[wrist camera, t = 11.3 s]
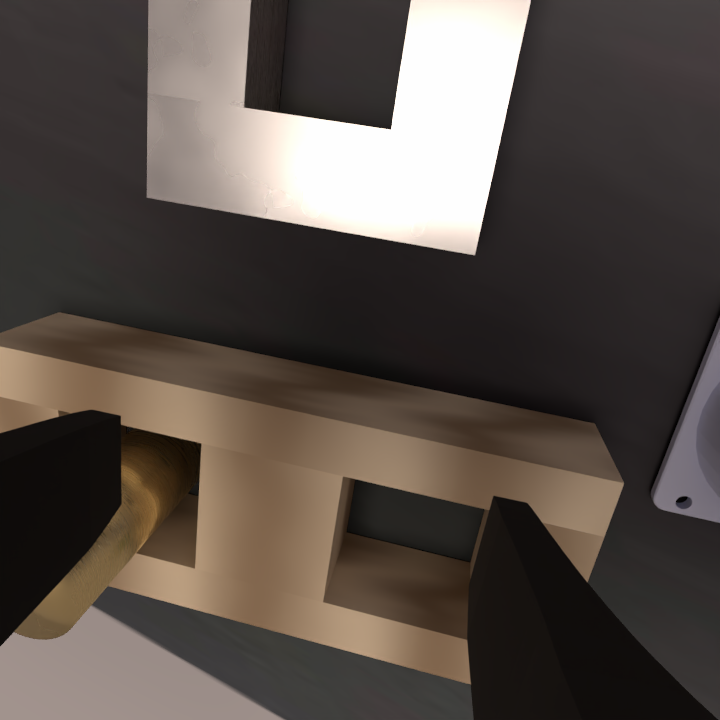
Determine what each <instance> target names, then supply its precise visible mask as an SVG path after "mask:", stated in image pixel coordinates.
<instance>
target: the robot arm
mask: <svg viewBox="0 0 720 720" xmlns="http://www.w3.org/2000/svg"><path fill="white" fill-rule="evenodd" d="M682 496H687V497H688V498H687V500H686V501H684V502H682V503H677V502H676V500H677V499H678V498H679V497H682ZM651 498H652V500H653V502H654V504H655V505H656V506H657V507H658V508H659V509H662V510H664V511H669V512H673V513H678V514H682V515H687V516H691V517H696V518H700V519H705V520H709V521H713V522H718V523H720V317H719V319H718V322H717V324H716V327H715V330H714V332H713V335H712V337H711V340H710V342H709V345H708V347H707V350H706V353H705V355H704V358H703V360H702V363H701V365H700V368H699V370H698V373H697V375H696V378H695V381H694V383H693V386H692V388H691V391H690V393H689V396H688V398H687V401H686V403H685V406H684V409H683V411H682V414H681V416H680V419H679V421H678V424H677V426H676V429H675V431H674V434H673V437H672V439H671V442H670V444H669V447H668V449H667V452H666V454H665V457H664V459H663V462H662V465H661V467H660V470H659V472H658V475H657V477H656V480H655V482H654V485H653V487H652V490H651ZM121 504H122V489H121V416H120V415H116V414H111V413H106V412H102V411H97V410H92V409H91V410H86V411H80V412H75V413H71V414H67V415H63V416H59V417H55V418H52V419H48V420H44V421H41V422H37V423H34V424H30V425H27V426H23V427H20V428H16V429H13V430H9V431H6V432H2V433H0V646H1V645H2V644H3V643H4V642H5V641H6V640H7V639H8V638H9V636H10V635H11V634H12V633H13V632H14V631H15V630H16V629H17V628H18V627H19V626H20V625H21V624H22V622H23V621H24V620H25V619H26V618H27V617H28V616H29V615H30V614H31V613H32V612H33V611H34V610H35V608H36V607H37V606H38V605H39V604H40V603H41V602H42V601H43V600H44V599H45V598H46V597H47V596H48V595H49V593H50V592H51V591H52V590H53V589H54V588H55V587H56V586H57V585H58V584H59V583H60V582H61V581H62V579H63V578H64V577H65V576H66V575H67V574H68V573H69V572H70V571H71V570H72V568H73V567H74V566H75V565H76V564H77V563H78V562H79V561H80V560H81V559H82V557H83V556H84V555H85V554H86V553H87V552H88V551H89V550H90V548H91V547H92V546H93V545H94V543H95V542H96V540H97V539H98V538H99V536H100V535H101V534H102V532H103V531H104V530H105V528H106V527H107V525H108V524H109V522H110V521H111V519H112V518H113V516H114V515H115V513H116V512H117V510H118V509H119V507H120V506H121ZM467 643H468V656H469V668H470V681H471V692H472V704H473V715H474V720H718V719H717V718H716V717H714V716H713V715H712V714H711V713H710V712H709V711H708V710H707V709H706V708H705V707H704V706H703V705H702V704H700V703H699V702H698V701H697V700H696V699H695V698H694V697H693V696H692V695H691V694H690V693H689V692H688V691H687V690H686V689H685V688H684V687H683V686H682V685H681V684H680V683H679V682H678V681H677V680H676V679H675V678H674V677H673V676H672V675H671V674H670V673H669V672H668V671H667V670H666V669H665V668H664V667H663V666H662V665H661V664H660V663H659V662H658V661H657V660H656V659H655V658H654V657H653V656H652V655H651V654H650V653H649V652H648V651H647V650H646V649H645V648H644V647H643V646H642V645H641V644H640V643H639V642H638V641H637V640H636V638H635V637H634V636H633V635H632V634H631V633H630V632H629V631H628V630H627V628H626V627H625V626H624V625H623V624H622V623H621V622H620V620H619V619H618V618H617V617H616V616H615V615H614V614H613V612H612V611H611V610H610V609H609V608H608V607H607V606H606V604H605V603H604V602H603V601H602V600H601V598H600V597H599V596H598V595H597V594H596V592H595V591H594V590H593V589H592V588H591V586H590V585H589V584H588V583H587V581H586V580H585V579H584V578H583V576H582V575H581V574H580V572H579V571H578V570H577V569H576V567H575V566H574V565H573V563H572V562H571V561H570V559H569V558H568V557H567V555H566V554H565V553H564V552H563V550H562V549H561V547H560V546H559V545H558V543H557V542H556V541H555V539H554V538H553V537H552V535H551V534H550V533H549V531H548V530H547V528H546V527H545V526H544V524H543V523H542V522H541V520H540V519H539V517H538V516H537V515H536V513H535V512H534V511H533V509H532V508H531V507H530V505H529V504H528V503H526V502H521V501H517V500H512V499H507V498H503V497H498V496H493V499H492V502H491V506H490V510H489V513H488V517H487V521H486V524H485V528H484V531H483V535H482V539H481V542H480V546H479V550H478V553H477V557H476V561H475V564H474V568H473V572H472V575H471V579H470V583H469V595H468V623H467Z"/></svg>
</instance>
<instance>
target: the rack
mask: <svg viewBox="0 0 720 720" xmlns="http://www.w3.org/2000/svg"><path fill="white" fill-rule="evenodd" d="M91 409H92V410H97V411H102V412H106V413H111V414H116V415H120V416H121V438H123V437H124V436H125V435H126V426H128V427H133V428H137V429H141V430H146V431H150V432H154V433H159V434H163V435H167V436H172V437H176V438H180V439H184V440H189V441H193V442H197V443H201V462H200V482H199V496H196V495H192V494H188V493H187V494H186V496H185V497H184V498H183V499H182V500H181V501H180V503H179V504H178V505H177V506H176V507H175V508H174V510H173V511H172V512H171V513H170V514H169V515H168V517H167V518H166V519H165V520H164V521H163V522H162V524H161V525H160V526H159V527H158V528H157V529H156V530H155V532H154V533H153V534H152V535H151V536H150V537H149V539H148V540H147V541H146V542H145V543H144V544H143V546H142V547H141V548H140V549H139V550H138V551H137V553H136V554H135V555H134V556H133V557H132V558H131V559H130V561H129V562H128V563H127V564H126V565H125V566H124V568H123V569H122V570H121V571H120V572H119V573H118V575H117V576H116V577H115V578H114V579H113V580H112V582H111V583H110V584H109V585H108V586H110V587H114V588H118V589H121V590H125V591H129V592H132V593H136V594H140V595H143V596H147V597H151V598H154V599H158V600H162V601H166V602H169V603H173V604H177V605H180V606H184V607H188V608H191V609H195V610H199V611H202V612H206V613H210V614H213V615H217V616H221V617H224V618H228V619H232V620H235V621H239V622H243V623H246V624H250V625H254V626H258V627H261V628H265V629H269V630H272V631H276V632H280V633H283V634H287V635H291V636H294V637H298V638H302V639H305V640H309V641H313V642H316V643H320V644H324V645H327V646H331V647H335V648H338V649H342V650H346V651H349V652H353V653H357V654H361V655H364V656H368V657H372V658H375V659H379V660H383V661H386V662H390V663H394V664H397V665H401V666H405V667H408V668H412V669H416V670H419V671H423V672H427V673H430V674H434V675H438V676H441V677H445V678H449V679H453V680H456V681H460V682H464V683H467V684H471V681H470V668H469V656H468V643H467V623H468V595H469V583H470V579H471V575H472V572H473V568H474V564H475V561H476V557H477V553H478V550H479V546H480V542H481V539H482V535H483V531H484V528H485V524H486V521H487V517H488V513H489V510H490V506H491V502H492V499H493V496H498V497H503V498H507V499H512V500H517V501H521V502H526V503H528V504H529V505H530V507H531V508H532V509H533V511H534V512H535V513H536V515H537V516H538V517H539V519H540V520H541V522H542V523H543V524H544V526H545V527H546V528H547V530H548V531H549V533H550V534H551V535H552V537H553V538H554V539H555V541H556V542H557V543H558V545H559V546H560V547H561V549H562V550H563V552H564V553H565V554H566V555H567V557H568V558H569V559H570V561H571V562H572V563H573V565H574V566H575V567H576V569H577V570H578V571H579V572H580V574H581V575H582V576H583V578H584V579H585V580H586V581H587V582H588V580H589V577H590V574H591V572H592V569H593V566H594V563H595V561H596V558H597V555H598V553H599V550H600V547H601V545H602V542H603V539H604V536H605V534H606V531H607V528H608V526H609V523H610V520H611V518H612V515H613V512H614V509H615V507H616V504H617V501H618V499H619V496H620V493H621V491H622V488H623V485H624V482H623V480H622V478H621V476H620V474H619V472H618V470H617V468H616V466H615V464H614V462H613V460H612V458H611V456H610V454H609V452H608V449H607V447H606V445H605V443H604V441H603V439H602V437H601V435H600V433H599V431H598V429H597V427H596V425H595V423H590V422H585V421H580V420H575V419H571V418H566V417H561V416H556V415H551V414H547V413H542V412H537V411H532V410H527V409H523V408H518V407H513V406H508V405H503V404H498V403H494V402H489V401H484V400H479V399H474V398H470V397H465V396H460V395H455V394H450V393H446V392H441V391H436V390H431V389H426V388H422V387H417V386H412V385H407V384H402V383H397V382H393V381H388V380H383V379H378V378H373V377H369V376H364V375H359V374H354V373H349V372H345V371H340V370H335V369H330V368H325V367H321V366H316V365H311V364H306V363H301V362H296V361H292V360H287V359H282V358H277V357H272V356H268V355H263V354H258V353H253V352H248V351H244V350H239V349H234V348H229V347H224V346H220V345H215V344H210V343H205V342H200V341H195V340H191V339H186V338H181V337H176V336H171V335H167V334H162V333H157V332H152V331H147V330H143V329H138V328H133V327H128V326H123V325H119V324H114V323H109V322H104V321H99V320H94V319H90V318H85V317H80V316H75V315H70V314H66V313H61V312H59V313H56V314H53V315H50V316H47V317H44V318H42V319H39V320H36V321H33V322H30V323H27V324H25V325H22V326H19V327H16V328H13V329H10V330H8V331H5V332H2V333H0V433H2V432H6V431H9V430H13V429H16V428H20V427H23V426H27V425H30V424H34V423H37V422H41V421H44V420H48V419H52V418H55V417H59V416H63V415H67V414H71V413H75V412H80V411H86V410H91ZM355 479H357V480H361V481H365V482H370V483H374V484H378V485H383V486H387V487H391V488H396V489H400V490H404V491H409V492H413V493H417V494H422V495H426V496H430V497H434V498H439V499H443V500H447V501H452V502H456V503H460V504H465V505H469V506H473V507H478V508H482V509H485V510H484V514H483V518H482V521H481V525H480V529H479V532H478V536H477V540H476V543H475V547H474V551H473V555H472V558H471V562H466V561H462V560H457V559H453V558H449V557H445V556H441V555H437V554H433V553H429V552H425V551H421V550H417V549H412V548H408V547H404V546H400V545H396V544H392V543H388V542H384V541H380V540H376V539H372V538H368V537H363V536H359V535H355V534H351V533H347V526H348V520H349V514H350V508H351V502H352V496H353V490H354V484H355Z"/></svg>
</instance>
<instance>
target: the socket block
mask: <svg viewBox="0 0 720 720" xmlns="http://www.w3.org/2000/svg"><path fill="white" fill-rule="evenodd" d="M530 2H531V0H411V4H410V10H409V17H408V23H407V30H406V36H405V43H404V49H403V56H402V62H401V69H400V75H399V82H398V88H397V95H396V101H395V108H394V114H393V121H392V127H391V130H389V129H382V128H376V127H369V126H362V125H356V124H349V123H343V122H336V121H329V120H323V119H316V118H309V117H303V116H296V115H290V114H283V113H279V103H280V91H281V80H282V68H283V56H284V45H285V33H286V22H287V10H288V0H149V14H148V125H147V198H153V199H158V200H164V201H170V202H175V203H181V204H187V205H192V206H198V207H204V208H209V209H215V210H221V211H226V212H232V213H238V214H243V215H249V216H255V217H261V218H266V219H272V220H278V221H283V222H289V223H295V224H300V225H306V226H312V227H317V228H323V229H329V230H334V231H340V232H346V233H351V234H357V235H363V236H368V237H374V238H380V239H386V240H391V241H397V242H403V243H408V244H414V245H420V246H425V247H431V248H437V249H442V250H448V251H454V252H459V253H465V254H471V255H475V252H476V248H477V243H478V239H479V234H480V230H481V225H482V221H483V216H484V212H485V207H486V202H487V198H488V193H489V189H490V184H491V180H492V175H493V171H494V166H495V162H496V157H497V152H498V148H499V143H500V139H501V134H502V130H503V125H504V121H505V116H506V112H507V107H508V102H509V98H510V93H511V89H512V84H513V80H514V75H515V71H516V66H517V62H518V57H519V52H520V48H521V43H522V39H523V34H524V30H525V25H526V21H527V16H528V12H529V7H530Z"/></svg>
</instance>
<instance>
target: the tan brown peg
mask: <svg viewBox="0 0 720 720" xmlns="http://www.w3.org/2000/svg"><path fill="white" fill-rule="evenodd" d="M200 462H201V443H197V442H193V441H189V440H184V439H180V438H176V437H172V436H167V435H163V434H159V433H154V432H150V431H146V430H141V429H137V428H134V429H133V430H132V431H130V432H129V433H128V434H126V435H125V436H124V437H123V438H121V489H122V504H121V506H120V507H119V509H118V510H117V512H116V513H115V515H114V516H113V518H112V519H111V521H110V522H109V524H108V525H107V527H106V528H105V530H104V531H103V532H102V534H101V535H100V536H99V538H98V539H97V540H96V542H95V543H94V545H93V546H92V547H91V548H90V550H89V551H88V552H87V553H86V554H85V555H84V556H83V557H82V559H81V560H80V561H79V562H78V563H77V564H76V565H75V566H74V567H73V568H72V570H71V571H70V572H69V573H68V574H67V575H66V576H65V577H64V578H63V579H62V581H61V582H60V583H59V584H58V585H57V586H56V587H55V588H54V589H53V590H52V591H51V592H50V593H49V595H48V596H47V597H46V598H45V599H44V600H43V601H42V602H41V603H40V604H39V605H38V606H37V607H36V608H35V610H34V611H33V612H32V613H31V614H30V615H29V616H28V617H27V618H26V619H25V620H24V621H23V622H22V624H21V625H20V626H19V627H18V628H17V629H16V630H15V631H14V632H15V633H17V634H19V635H22V636H25V637H29V638H33V639H53V638H57V637H60V636H62V635H64V634H65V633H67V632H68V631H69V630H70V629H71V628H72V627H73V626H74V624H75V623H76V622H77V621H78V620H79V619H80V617H81V616H82V615H83V614H84V613H85V612H86V611H87V609H88V608H89V607H90V606H91V605H92V604H93V602H94V601H95V600H96V599H97V598H98V597H99V595H100V594H101V593H102V592H103V591H104V590H105V589H106V587H107V586H108V585H109V584H110V583H111V582H112V580H113V579H114V578H115V577H116V576H117V575H118V573H119V572H120V571H121V570H122V569H123V568H124V566H125V565H126V564H127V563H128V562H129V561H130V559H131V558H132V557H133V556H134V555H135V554H136V553H137V551H138V550H139V549H140V548H141V547H142V546H143V544H144V543H145V542H146V541H147V540H148V539H149V537H150V536H151V535H152V534H153V533H154V532H155V530H156V529H157V528H158V527H159V526H160V525H161V524H162V522H163V521H164V520H165V519H166V518H167V517H168V515H169V514H170V513H171V512H172V511H173V510H174V508H175V507H176V506H177V505H178V504H179V503H180V501H181V500H182V499H183V498H184V497H185V496H186V494H187V493H188V492H189V491H190V490H191V489H192V488H193V486H194V485H195V484H196V483H197V482H198V481H199V479H200Z"/></svg>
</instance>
